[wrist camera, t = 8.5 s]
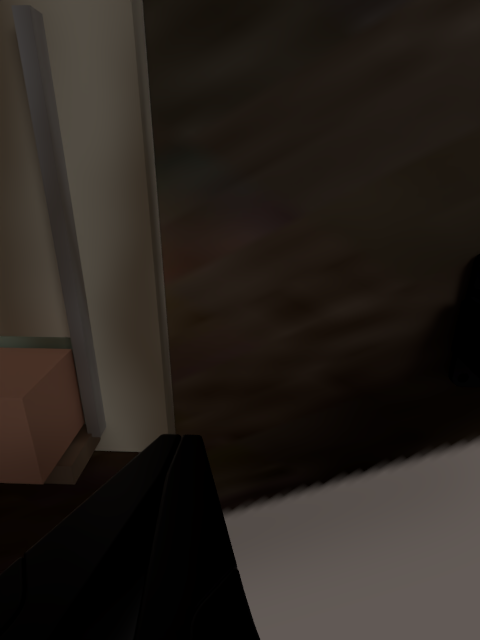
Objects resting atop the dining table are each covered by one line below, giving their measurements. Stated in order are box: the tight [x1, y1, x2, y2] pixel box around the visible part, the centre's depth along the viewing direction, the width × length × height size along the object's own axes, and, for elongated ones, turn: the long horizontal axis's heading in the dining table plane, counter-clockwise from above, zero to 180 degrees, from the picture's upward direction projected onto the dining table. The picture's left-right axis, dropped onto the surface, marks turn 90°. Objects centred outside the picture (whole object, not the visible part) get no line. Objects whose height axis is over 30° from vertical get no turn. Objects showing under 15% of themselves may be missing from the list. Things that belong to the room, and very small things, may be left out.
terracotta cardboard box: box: [0, 348, 85, 484], centre depth 17 cm, size 4×4×4 cm
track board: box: [0, 0, 175, 484], centre depth 16 cm, size 12×20×4 cm, turn 0°
